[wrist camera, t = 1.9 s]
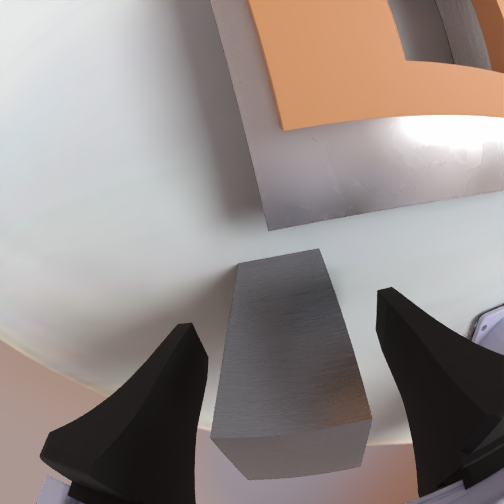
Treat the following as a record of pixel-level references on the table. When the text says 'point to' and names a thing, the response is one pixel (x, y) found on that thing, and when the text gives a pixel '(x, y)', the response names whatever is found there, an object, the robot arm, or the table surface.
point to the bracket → (367, 64)
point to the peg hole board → (360, 138)
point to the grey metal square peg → (289, 374)
